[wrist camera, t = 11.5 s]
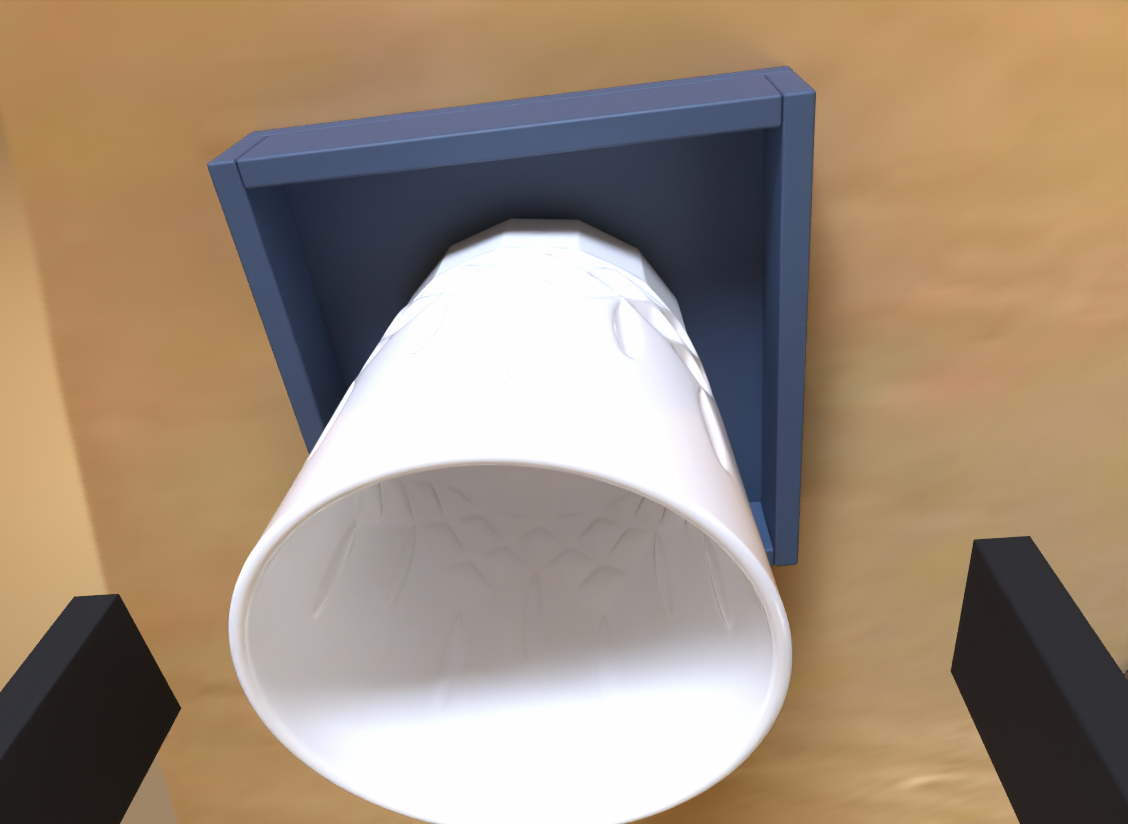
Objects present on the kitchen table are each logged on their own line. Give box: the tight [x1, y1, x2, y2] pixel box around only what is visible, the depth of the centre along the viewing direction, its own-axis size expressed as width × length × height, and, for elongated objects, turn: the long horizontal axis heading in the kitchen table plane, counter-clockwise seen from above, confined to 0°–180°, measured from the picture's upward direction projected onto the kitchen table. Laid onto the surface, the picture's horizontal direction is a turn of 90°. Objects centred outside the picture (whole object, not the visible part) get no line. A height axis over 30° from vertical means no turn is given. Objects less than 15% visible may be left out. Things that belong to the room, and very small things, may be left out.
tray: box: [207, 66, 816, 566], centre depth 19 cm, size 12×12×2 cm
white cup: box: [229, 218, 793, 824], centre depth 16 cm, size 8×8×10 cm
